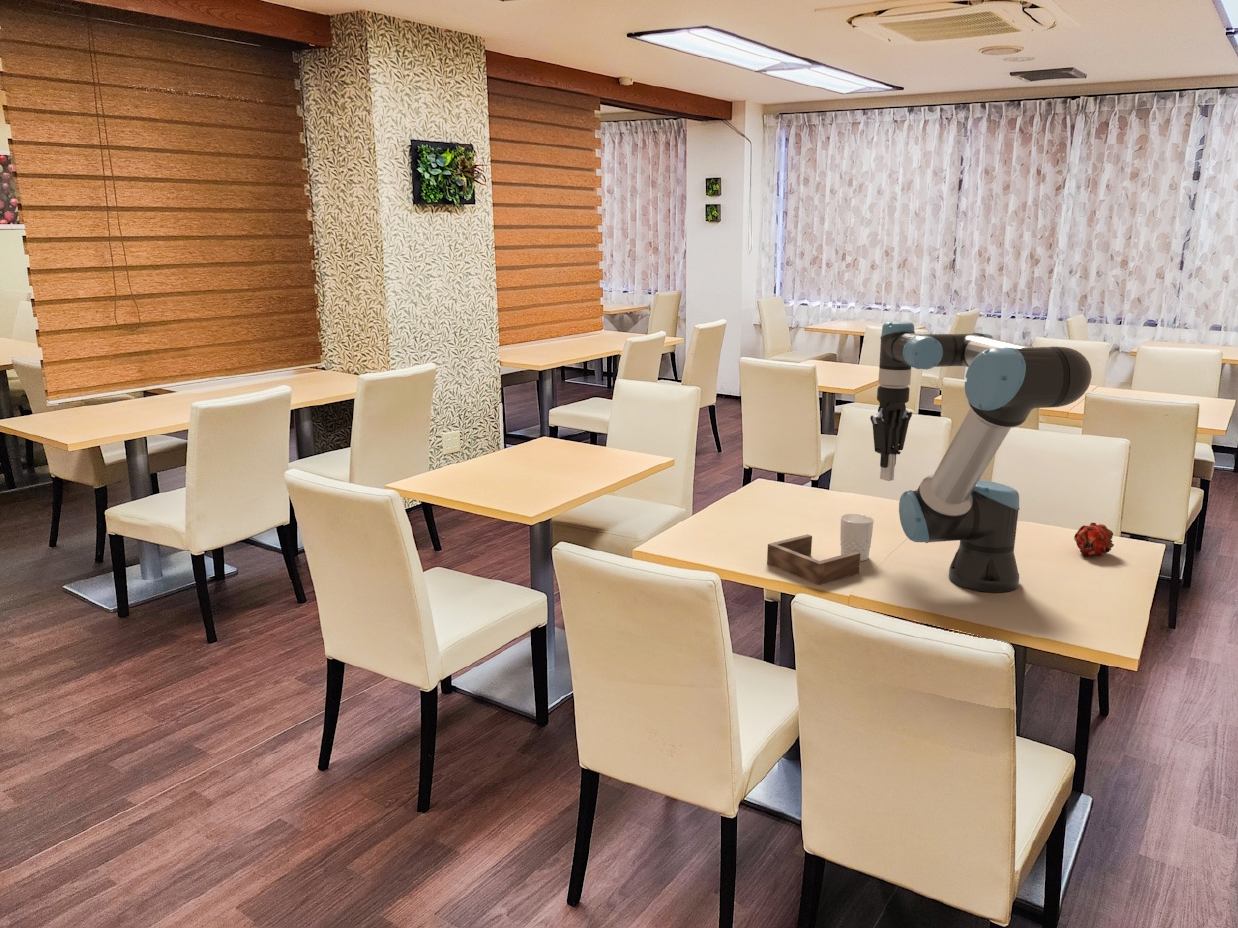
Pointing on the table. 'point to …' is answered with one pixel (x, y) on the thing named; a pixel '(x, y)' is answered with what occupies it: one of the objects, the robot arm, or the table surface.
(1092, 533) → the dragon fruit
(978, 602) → the table surface
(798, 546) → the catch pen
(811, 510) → the table surface
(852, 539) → the white cup
